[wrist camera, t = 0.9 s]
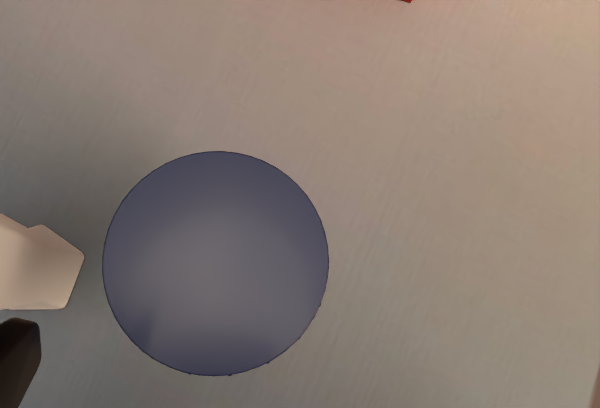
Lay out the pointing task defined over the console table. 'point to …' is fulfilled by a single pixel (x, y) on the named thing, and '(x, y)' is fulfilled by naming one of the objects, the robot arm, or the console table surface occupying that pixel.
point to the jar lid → (215, 263)
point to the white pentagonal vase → (35, 267)
